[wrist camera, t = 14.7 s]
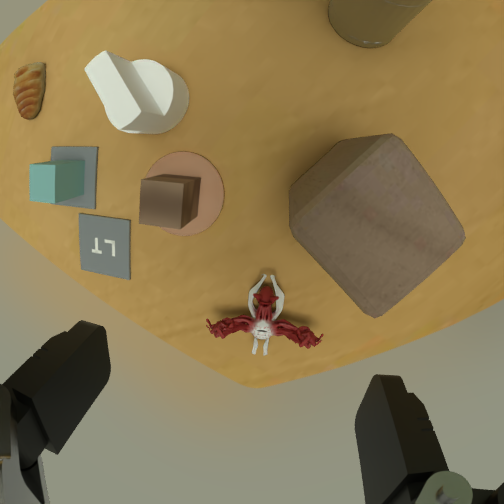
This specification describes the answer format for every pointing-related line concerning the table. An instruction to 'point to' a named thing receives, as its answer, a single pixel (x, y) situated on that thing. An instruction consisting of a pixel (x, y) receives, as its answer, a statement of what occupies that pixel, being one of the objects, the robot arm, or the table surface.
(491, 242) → the table surface
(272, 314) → the figurine
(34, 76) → the pastry
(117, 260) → the code tile
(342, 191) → the block
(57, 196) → the teal block
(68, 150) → the code tile
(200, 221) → the pink round disc
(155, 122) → the cylinder with rectangular tab
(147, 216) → the walnut block
